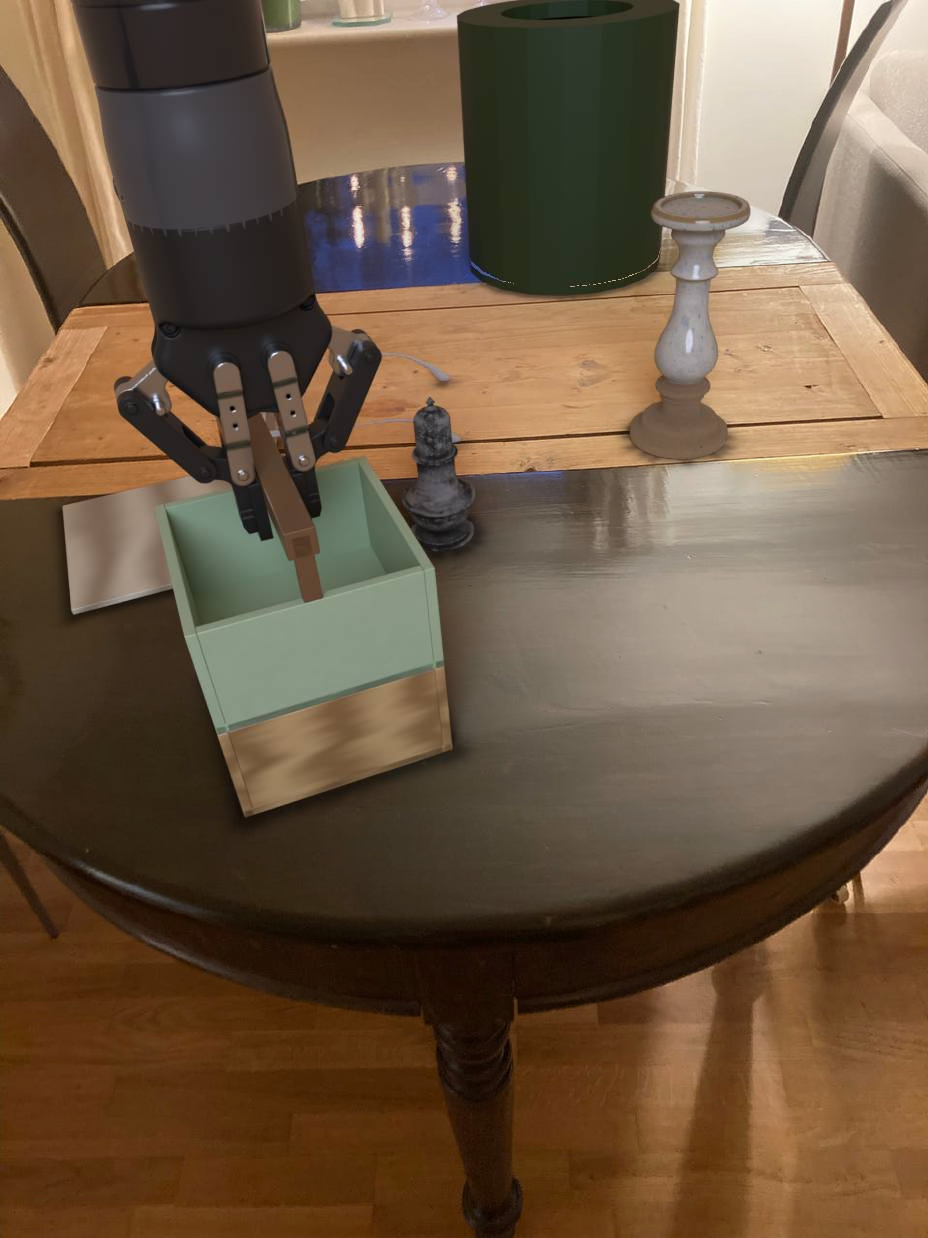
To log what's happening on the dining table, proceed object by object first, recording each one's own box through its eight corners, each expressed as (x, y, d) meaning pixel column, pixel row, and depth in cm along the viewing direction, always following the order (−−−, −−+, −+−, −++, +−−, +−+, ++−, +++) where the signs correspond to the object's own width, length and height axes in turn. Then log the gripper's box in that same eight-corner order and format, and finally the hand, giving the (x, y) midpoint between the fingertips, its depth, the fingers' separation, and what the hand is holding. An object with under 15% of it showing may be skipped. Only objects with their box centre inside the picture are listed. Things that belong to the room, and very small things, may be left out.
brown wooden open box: (245, 818, 54) (217, 736, 49) (209, 678, 63) (183, 598, 59) (452, 749, 57) (444, 666, 52) (389, 626, 66) (378, 546, 62)
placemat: (73, 615, 70) (71, 610, 69) (64, 510, 81) (62, 505, 81) (280, 560, 73) (279, 555, 73) (243, 467, 85) (242, 463, 85)
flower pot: (537, 311, 109) (535, 35, 92) (435, 255, 127) (417, 14, 109) (700, 264, 118) (728, 4, 100) (585, 218, 136) (591, -12, 118)
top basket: (217, 735, 49) (160, 566, 42) (183, 598, 59) (132, 440, 52) (444, 666, 52) (428, 497, 45) (378, 546, 62) (355, 391, 55)
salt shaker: (394, 547, 74) (376, 410, 66) (422, 508, 78) (408, 375, 70) (463, 558, 72) (453, 420, 64) (487, 518, 76) (480, 383, 69)
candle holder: (722, 465, 80) (755, 223, 68) (621, 455, 83) (635, 219, 70) (730, 418, 87) (762, 189, 74) (637, 410, 89) (652, 186, 76)
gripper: (47, 247, 35) (167, 599, 46) (387, 189, 39) (423, 531, 50) (42, 198, 41) (151, 524, 52) (340, 151, 44) (382, 467, 55)
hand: (284, 526), depth 51 cm, fingers closed on top basket
